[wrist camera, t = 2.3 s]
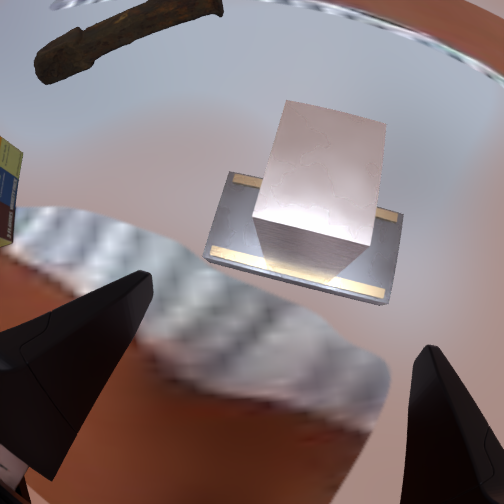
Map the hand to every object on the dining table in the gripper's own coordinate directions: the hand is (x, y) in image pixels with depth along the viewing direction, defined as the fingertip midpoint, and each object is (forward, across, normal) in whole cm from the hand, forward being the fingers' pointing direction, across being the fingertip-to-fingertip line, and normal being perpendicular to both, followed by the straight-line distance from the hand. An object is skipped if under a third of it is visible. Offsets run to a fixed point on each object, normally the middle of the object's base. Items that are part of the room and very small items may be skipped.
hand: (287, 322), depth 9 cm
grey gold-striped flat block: (+12, 0, +4) cm, 13 cm away
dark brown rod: (+25, +23, -8) cm, 35 cm away
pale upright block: (+10, 0, +3) cm, 11 cm away
